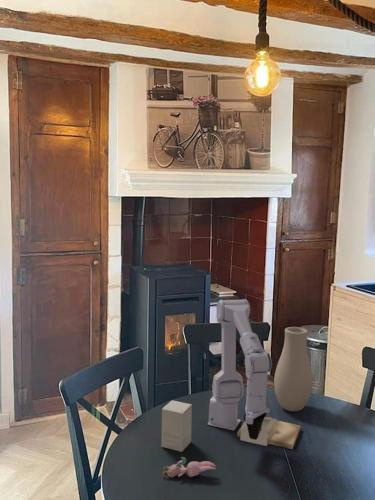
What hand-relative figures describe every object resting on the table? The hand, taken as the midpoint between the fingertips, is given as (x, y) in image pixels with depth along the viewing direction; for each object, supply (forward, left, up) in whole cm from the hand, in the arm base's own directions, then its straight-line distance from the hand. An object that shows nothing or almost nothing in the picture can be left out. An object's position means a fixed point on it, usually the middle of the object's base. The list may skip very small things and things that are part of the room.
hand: (254, 436), depth 150 cm
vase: (+3, +42, -9) cm, 43 cm away
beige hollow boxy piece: (0, +5, -2) cm, 5 cm away
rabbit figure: (-15, -14, -9) cm, 22 cm away
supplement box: (-25, 0, -9) cm, 26 cm away
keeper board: (0, +20, -8) cm, 22 cm away
